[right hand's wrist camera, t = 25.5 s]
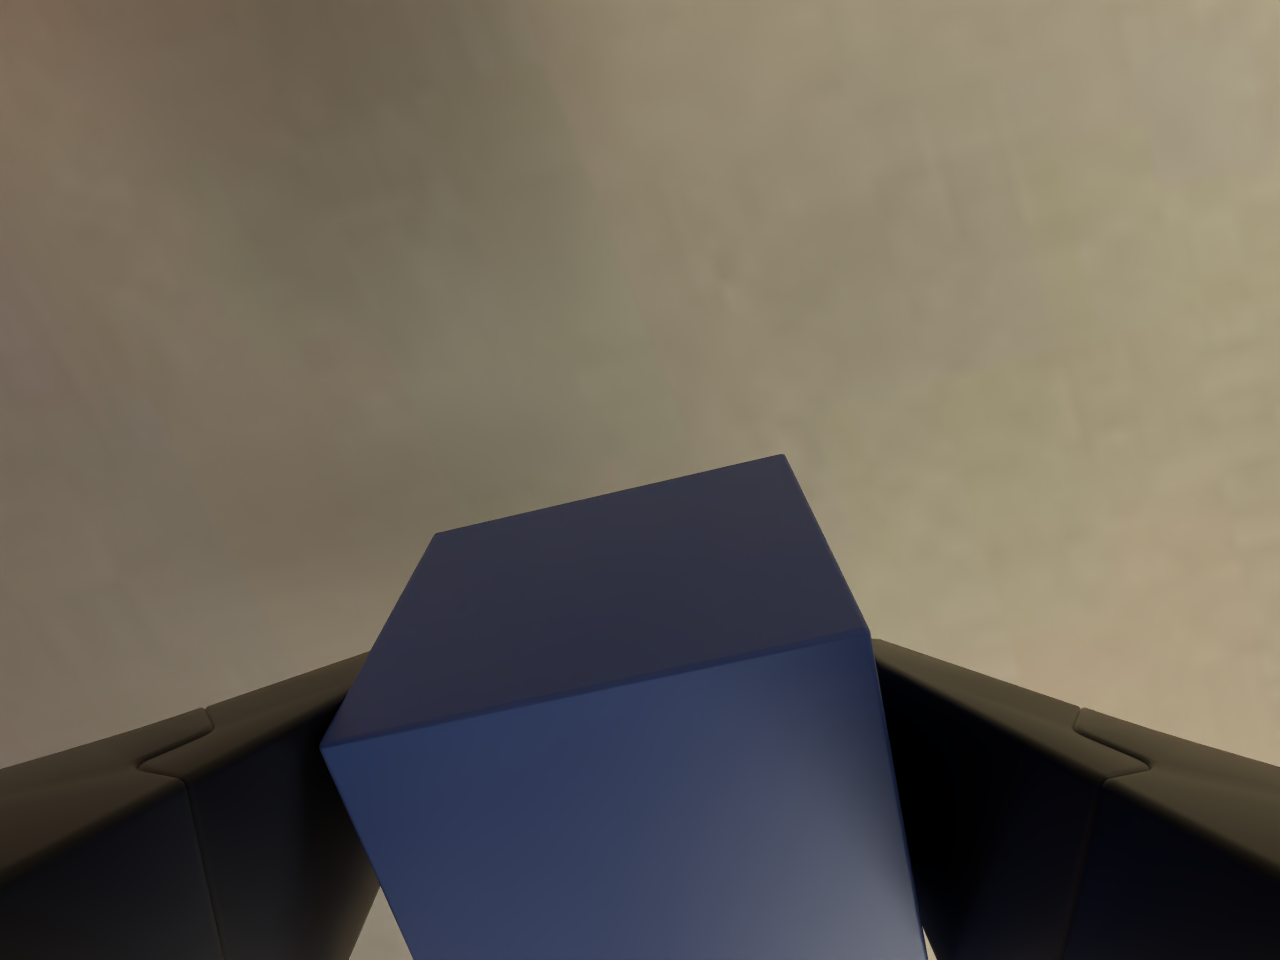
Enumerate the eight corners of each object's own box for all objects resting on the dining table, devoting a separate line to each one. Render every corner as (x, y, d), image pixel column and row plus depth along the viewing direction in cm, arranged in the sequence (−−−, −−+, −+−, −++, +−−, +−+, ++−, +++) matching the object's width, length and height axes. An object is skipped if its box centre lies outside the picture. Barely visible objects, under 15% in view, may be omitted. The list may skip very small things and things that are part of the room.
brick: (521, 776, 13) (462, 1075, 9) (433, 532, 12) (314, 745, 8) (835, 712, 13) (934, 992, 9) (784, 452, 12) (870, 627, 7)
